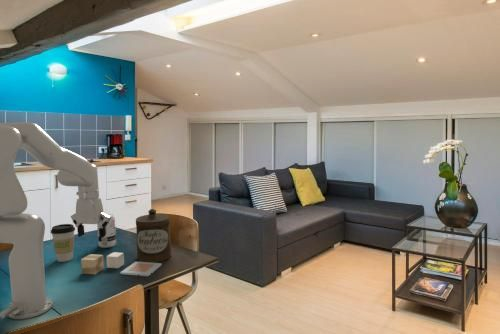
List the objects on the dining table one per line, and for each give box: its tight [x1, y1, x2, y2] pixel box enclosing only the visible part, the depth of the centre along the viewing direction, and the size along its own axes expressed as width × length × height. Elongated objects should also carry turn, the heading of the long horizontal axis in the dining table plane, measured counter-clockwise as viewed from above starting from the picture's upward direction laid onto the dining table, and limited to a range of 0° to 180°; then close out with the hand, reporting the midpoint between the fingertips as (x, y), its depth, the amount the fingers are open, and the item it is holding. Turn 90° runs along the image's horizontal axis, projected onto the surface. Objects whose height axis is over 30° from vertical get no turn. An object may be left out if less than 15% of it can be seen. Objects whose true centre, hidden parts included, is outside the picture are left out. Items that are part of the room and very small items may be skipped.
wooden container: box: [135, 208, 172, 263], centre depth 167 cm, size 15×15×22 cm
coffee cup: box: [50, 223, 76, 262], centre depth 166 cm, size 10×10×15 cm
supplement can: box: [96, 213, 117, 249], centre depth 184 cm, size 8×8×15 cm
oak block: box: [80, 253, 105, 275], centre depth 152 cm, size 6×6×6 cm
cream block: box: [106, 251, 125, 269], centre depth 158 cm, size 5×5×5 cm
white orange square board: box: [120, 261, 163, 277], centre depth 153 cm, size 12×12×1 cm
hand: (91, 236), depth 151 cm, fingers open, 9 cm apart
